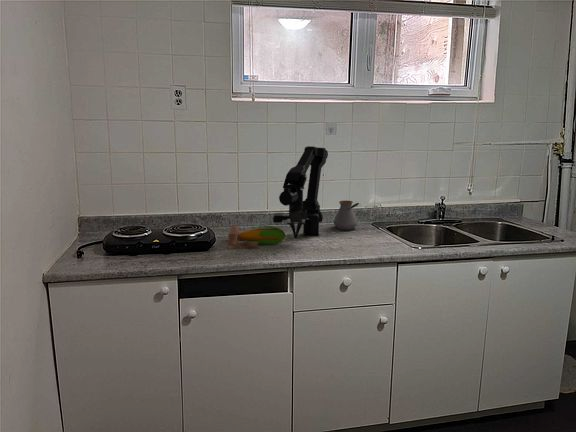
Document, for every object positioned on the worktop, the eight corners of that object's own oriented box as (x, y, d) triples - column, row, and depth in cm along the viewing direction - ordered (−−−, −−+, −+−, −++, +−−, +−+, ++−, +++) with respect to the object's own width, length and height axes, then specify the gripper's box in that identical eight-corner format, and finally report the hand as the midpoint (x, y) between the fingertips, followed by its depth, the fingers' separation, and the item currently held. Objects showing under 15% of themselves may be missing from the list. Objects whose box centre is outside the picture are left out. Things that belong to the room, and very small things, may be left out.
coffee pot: (330, 226, 235) (330, 195, 232) (352, 224, 238) (353, 194, 235) (345, 236, 215) (346, 203, 212) (369, 235, 218) (370, 202, 214)
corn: (285, 227, 199) (236, 227, 198) (285, 246, 200) (236, 245, 199) (285, 224, 206) (238, 224, 206) (285, 242, 207) (238, 242, 207)
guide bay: (259, 239, 210) (259, 225, 209) (258, 248, 196) (258, 234, 194) (232, 239, 210) (231, 225, 209) (228, 248, 196) (228, 234, 194)
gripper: (272, 205, 192) (272, 243, 195) (319, 205, 192) (319, 243, 195) (273, 199, 203) (273, 236, 206) (318, 200, 203) (317, 236, 206)
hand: (295, 238), depth 203 cm, fingers closed
